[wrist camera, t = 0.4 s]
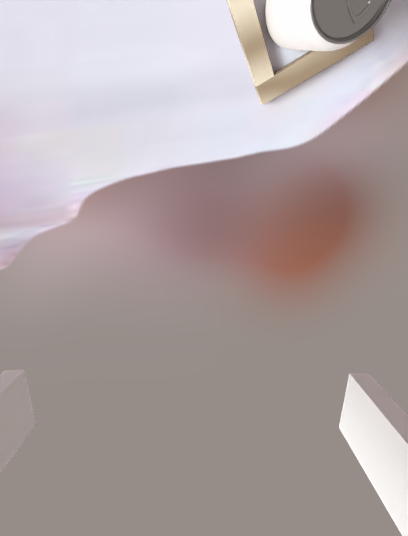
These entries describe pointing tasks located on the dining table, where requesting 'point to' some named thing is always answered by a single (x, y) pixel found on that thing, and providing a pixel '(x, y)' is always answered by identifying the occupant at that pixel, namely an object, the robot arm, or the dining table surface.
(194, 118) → the dining table surface
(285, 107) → the dining table surface
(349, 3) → the can
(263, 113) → the dining table surface
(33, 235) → the dining table surface
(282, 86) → the holder
